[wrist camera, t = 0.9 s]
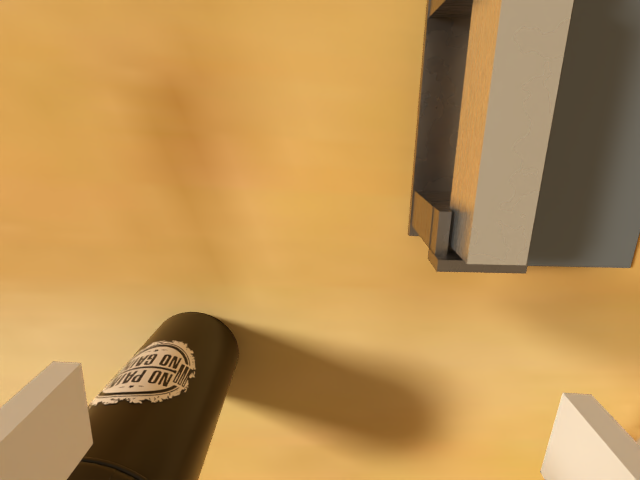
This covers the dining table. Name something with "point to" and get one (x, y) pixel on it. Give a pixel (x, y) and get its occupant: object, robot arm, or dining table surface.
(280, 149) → the dining table surface
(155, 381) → the water bottle
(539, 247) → the mat
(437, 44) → the rack
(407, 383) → the dining table surface
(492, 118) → the rail
